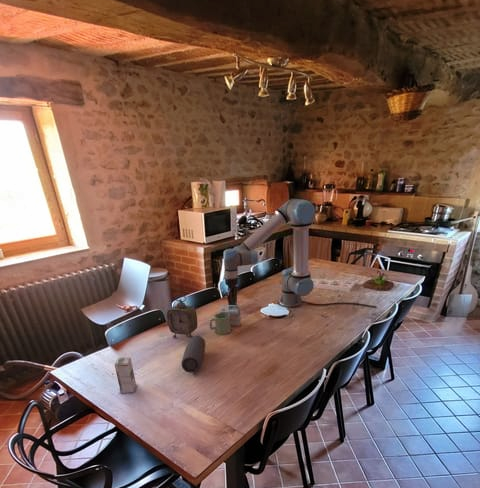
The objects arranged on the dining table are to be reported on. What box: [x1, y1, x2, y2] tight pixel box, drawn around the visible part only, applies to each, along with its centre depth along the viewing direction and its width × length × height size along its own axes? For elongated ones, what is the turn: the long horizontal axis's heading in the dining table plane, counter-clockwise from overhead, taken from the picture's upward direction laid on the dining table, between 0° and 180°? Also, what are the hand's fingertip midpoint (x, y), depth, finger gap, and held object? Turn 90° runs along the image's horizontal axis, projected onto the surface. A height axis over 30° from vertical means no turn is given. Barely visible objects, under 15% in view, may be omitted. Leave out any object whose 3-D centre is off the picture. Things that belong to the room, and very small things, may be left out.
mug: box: [208, 312, 232, 335], centre depth 204 cm, size 12×9×10 cm
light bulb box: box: [219, 304, 242, 327], centre depth 211 cm, size 11×7×11 cm, turn 82°
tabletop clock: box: [166, 293, 198, 340], centre depth 196 cm, size 14×9×25 cm, turn 70°
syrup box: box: [114, 356, 137, 394], centre depth 154 cm, size 6×6×14 cm
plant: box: [363, 270, 395, 292], centre depth 260 cm, size 20×20×11 cm
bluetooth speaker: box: [181, 335, 206, 374], centre depth 173 cm, size 23×9×10 cm, turn 178°
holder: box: [311, 278, 358, 293], centre depth 272 cm, size 45×18×3 cm, turn 59°
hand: (233, 315), depth 217 cm, fingers closed
